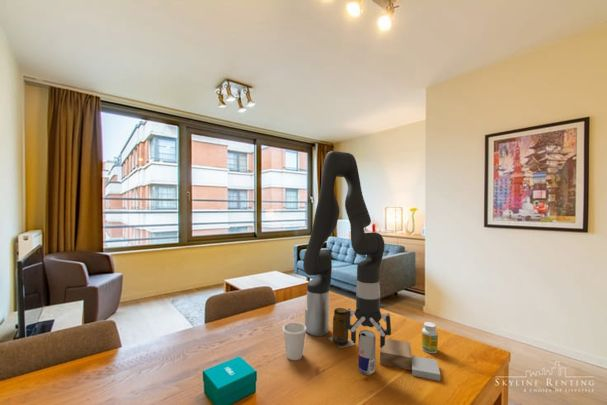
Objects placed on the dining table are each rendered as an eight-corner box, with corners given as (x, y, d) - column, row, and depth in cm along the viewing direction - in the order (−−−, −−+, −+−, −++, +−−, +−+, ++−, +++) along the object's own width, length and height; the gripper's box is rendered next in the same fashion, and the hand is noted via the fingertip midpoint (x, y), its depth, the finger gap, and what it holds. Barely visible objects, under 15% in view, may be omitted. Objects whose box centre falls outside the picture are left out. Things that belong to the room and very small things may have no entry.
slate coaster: (412, 375, 87) (412, 369, 87) (410, 361, 94) (410, 355, 94) (440, 381, 84) (440, 374, 84) (436, 365, 92) (436, 360, 92)
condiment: (343, 334, 112) (343, 305, 112) (355, 344, 105) (356, 313, 104) (327, 338, 109) (328, 308, 109) (339, 349, 101) (339, 317, 101)
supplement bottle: (426, 344, 105) (427, 319, 105) (440, 351, 101) (441, 325, 101) (418, 348, 102) (419, 323, 102) (432, 355, 98) (432, 329, 98)
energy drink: (356, 365, 91) (356, 329, 91) (371, 364, 92) (372, 329, 92) (360, 375, 86) (361, 337, 86) (377, 375, 87) (378, 337, 86)
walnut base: (380, 363, 93) (380, 352, 92) (381, 348, 102) (381, 337, 102) (411, 369, 89) (411, 357, 89) (409, 353, 99) (410, 342, 99)
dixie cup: (278, 359, 94) (278, 330, 94) (288, 347, 102) (288, 320, 102) (301, 364, 92) (301, 335, 91) (309, 351, 99) (309, 324, 99)
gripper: (344, 295, 87) (344, 346, 87) (390, 300, 83) (390, 354, 83) (347, 288, 94) (347, 335, 94) (391, 292, 90) (391, 342, 90)
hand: (367, 344), depth 89 cm, fingers open, 8 cm apart
